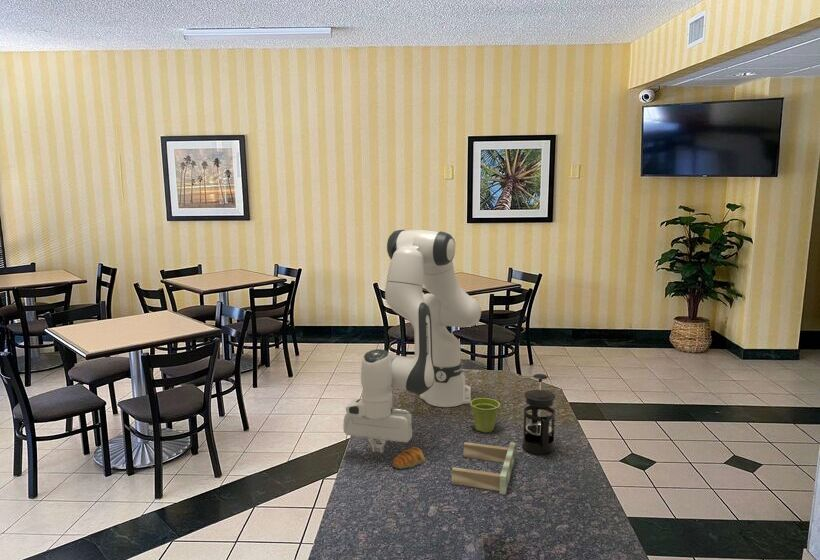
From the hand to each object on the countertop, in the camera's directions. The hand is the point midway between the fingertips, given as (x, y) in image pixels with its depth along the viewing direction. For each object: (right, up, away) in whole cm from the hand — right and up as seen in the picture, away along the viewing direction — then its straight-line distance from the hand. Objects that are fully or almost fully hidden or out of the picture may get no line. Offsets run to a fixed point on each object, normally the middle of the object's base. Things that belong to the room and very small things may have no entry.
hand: (378, 451), depth 173 cm
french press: (+48, -1, +4) cm, 48 cm away
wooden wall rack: (+29, -3, -8) cm, 30 cm away
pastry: (+9, -3, -3) cm, 10 cm away
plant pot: (+33, +2, +19) cm, 38 cm away
